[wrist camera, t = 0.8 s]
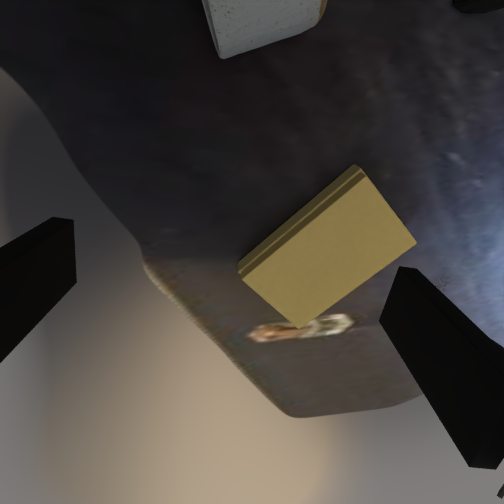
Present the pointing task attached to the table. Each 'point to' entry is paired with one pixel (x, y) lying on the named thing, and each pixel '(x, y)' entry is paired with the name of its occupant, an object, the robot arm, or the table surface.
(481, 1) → the film camera
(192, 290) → the table surface
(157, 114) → the table surface
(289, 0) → the ceramic mug
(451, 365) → the robot arm
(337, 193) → the tan lidded box
